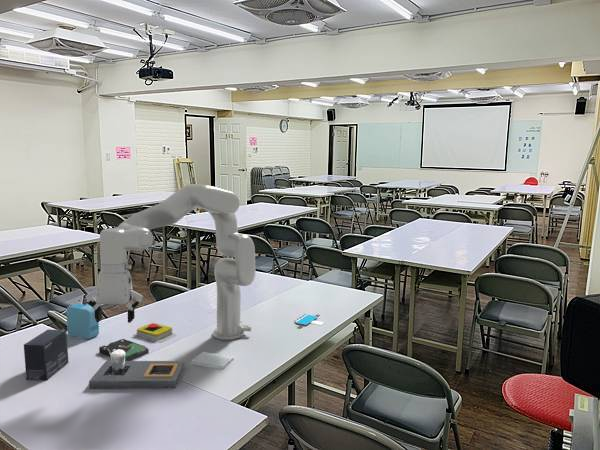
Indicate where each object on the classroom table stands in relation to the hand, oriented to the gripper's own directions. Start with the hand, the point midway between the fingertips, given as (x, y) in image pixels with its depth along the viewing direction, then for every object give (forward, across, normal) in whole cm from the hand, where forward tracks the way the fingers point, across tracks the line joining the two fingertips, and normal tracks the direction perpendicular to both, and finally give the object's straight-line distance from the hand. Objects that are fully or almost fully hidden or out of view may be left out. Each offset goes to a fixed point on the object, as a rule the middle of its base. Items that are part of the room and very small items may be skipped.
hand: (114, 321), depth 141 cm
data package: (+19, +25, -36) cm, 48 cm away
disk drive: (+20, +4, -19) cm, 28 cm away
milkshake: (+19, 0, 0) cm, 19 cm away
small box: (+20, +24, -5) cm, 31 cm away
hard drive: (+20, -29, -12) cm, 37 cm away
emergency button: (+20, -3, -37) cm, 42 cm away
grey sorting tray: (+19, -7, 0) cm, 20 cm away
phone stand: (+19, -67, -53) cm, 88 cm away
